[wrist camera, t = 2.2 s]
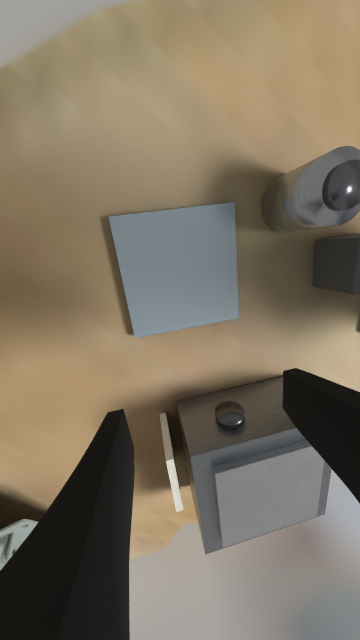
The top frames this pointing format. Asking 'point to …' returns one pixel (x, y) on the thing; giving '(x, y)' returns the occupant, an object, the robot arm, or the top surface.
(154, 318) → the pad
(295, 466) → the box
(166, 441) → the label tile
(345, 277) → the rubber block
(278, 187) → the cylinder
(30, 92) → the top surface
